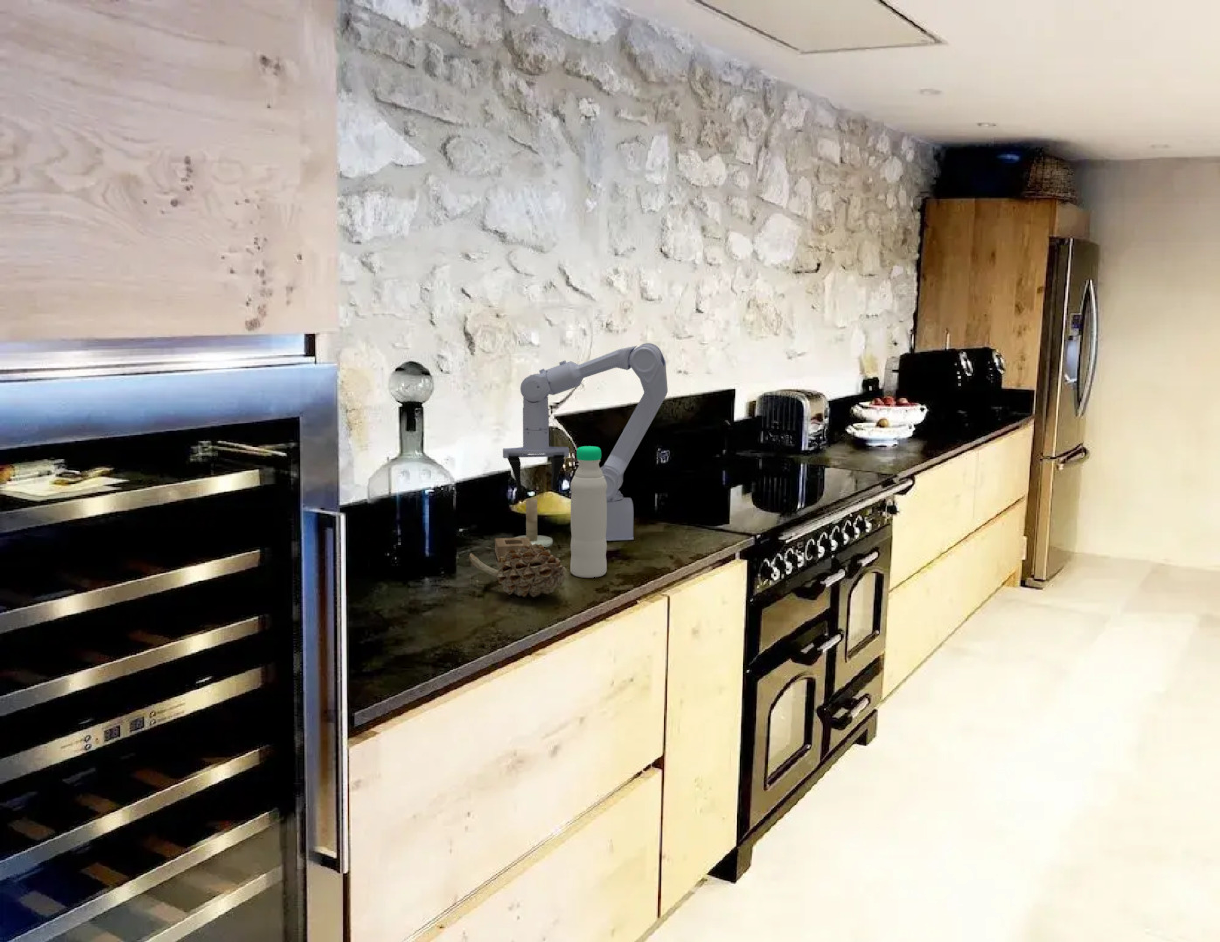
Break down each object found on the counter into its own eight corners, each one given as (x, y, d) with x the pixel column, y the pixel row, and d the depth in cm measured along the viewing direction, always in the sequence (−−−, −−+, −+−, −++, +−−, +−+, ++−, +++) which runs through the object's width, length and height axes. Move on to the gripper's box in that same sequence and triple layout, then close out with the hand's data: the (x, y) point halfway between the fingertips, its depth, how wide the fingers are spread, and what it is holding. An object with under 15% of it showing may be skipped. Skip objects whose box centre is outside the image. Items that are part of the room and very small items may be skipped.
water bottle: (602, 579, 208) (603, 450, 204) (566, 577, 209) (566, 449, 205) (609, 570, 215) (610, 445, 210) (575, 568, 216) (575, 443, 212)
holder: (528, 551, 229) (528, 537, 229) (532, 559, 222) (532, 545, 222) (495, 552, 228) (495, 538, 227) (498, 561, 221) (497, 546, 220)
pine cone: (577, 596, 197) (577, 543, 195) (549, 610, 189) (548, 554, 187) (478, 579, 208) (478, 528, 206) (447, 591, 200) (446, 538, 198)
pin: (537, 538, 237) (536, 498, 235) (537, 541, 234) (537, 500, 233) (526, 538, 237) (525, 498, 235) (526, 541, 234) (526, 500, 233)
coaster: (549, 537, 241) (549, 534, 241) (555, 547, 232) (555, 544, 232) (509, 539, 239) (509, 535, 239) (513, 549, 230) (513, 545, 230)
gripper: (565, 425, 245) (565, 484, 247) (501, 426, 242) (501, 486, 244) (570, 429, 238) (570, 490, 240) (504, 431, 235) (504, 492, 238)
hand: (536, 489), depth 242 cm, fingers open, 7 cm apart
